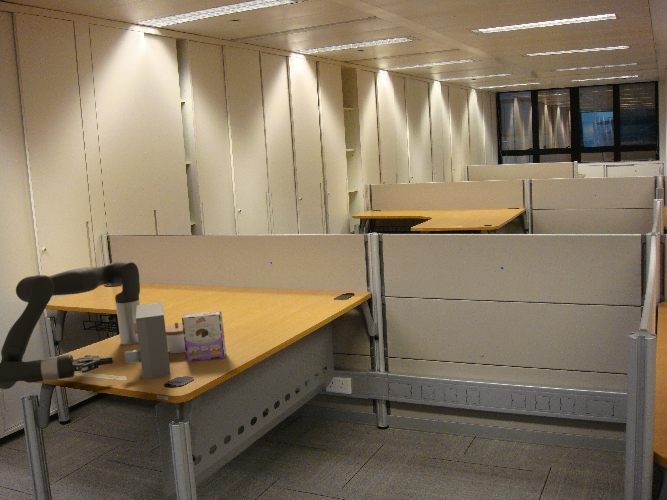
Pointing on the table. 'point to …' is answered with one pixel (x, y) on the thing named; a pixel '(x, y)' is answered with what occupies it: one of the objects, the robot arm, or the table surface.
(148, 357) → the console panel
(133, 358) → the slate blue button
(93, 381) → the table surface
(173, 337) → the lidded container
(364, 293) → the table surface
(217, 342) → the candy box
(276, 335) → the table surface
